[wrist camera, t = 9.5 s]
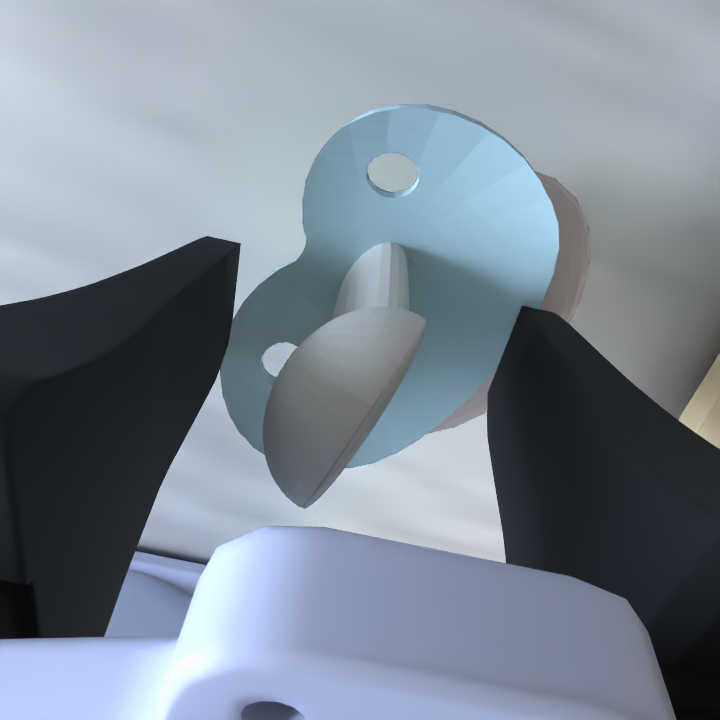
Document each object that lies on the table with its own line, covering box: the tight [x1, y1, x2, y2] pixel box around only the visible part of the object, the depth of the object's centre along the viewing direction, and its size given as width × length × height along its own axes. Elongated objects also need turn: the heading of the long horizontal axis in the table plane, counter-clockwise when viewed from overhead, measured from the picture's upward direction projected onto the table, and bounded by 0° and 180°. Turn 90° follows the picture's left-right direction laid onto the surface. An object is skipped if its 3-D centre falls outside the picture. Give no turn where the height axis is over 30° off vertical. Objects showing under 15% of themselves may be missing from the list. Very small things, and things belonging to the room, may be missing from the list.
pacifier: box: [220, 104, 590, 508], centre depth 11 cm, size 7×6×6 cm
